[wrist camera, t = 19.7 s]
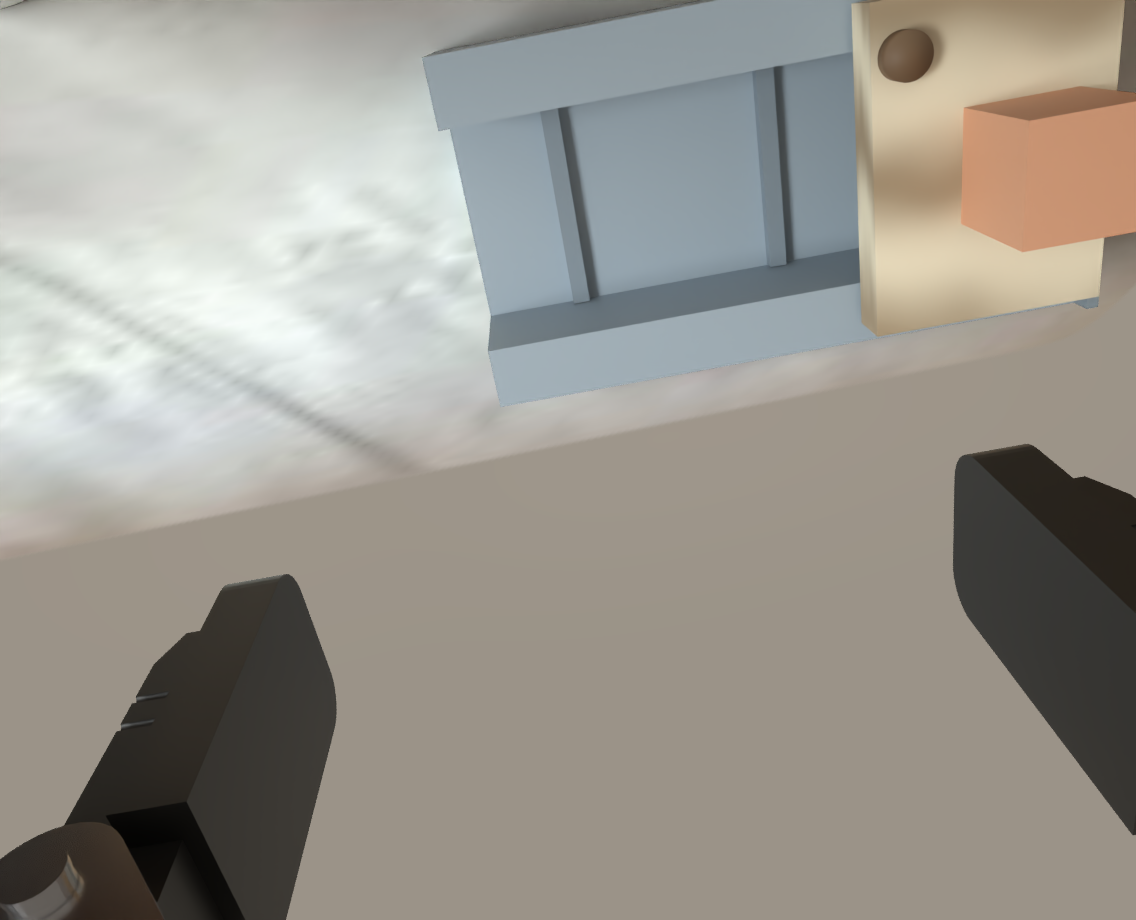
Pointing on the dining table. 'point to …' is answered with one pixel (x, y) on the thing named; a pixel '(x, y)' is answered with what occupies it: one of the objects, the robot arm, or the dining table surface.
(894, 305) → the lid
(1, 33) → the dining table surface
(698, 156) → the stand
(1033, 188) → the block
